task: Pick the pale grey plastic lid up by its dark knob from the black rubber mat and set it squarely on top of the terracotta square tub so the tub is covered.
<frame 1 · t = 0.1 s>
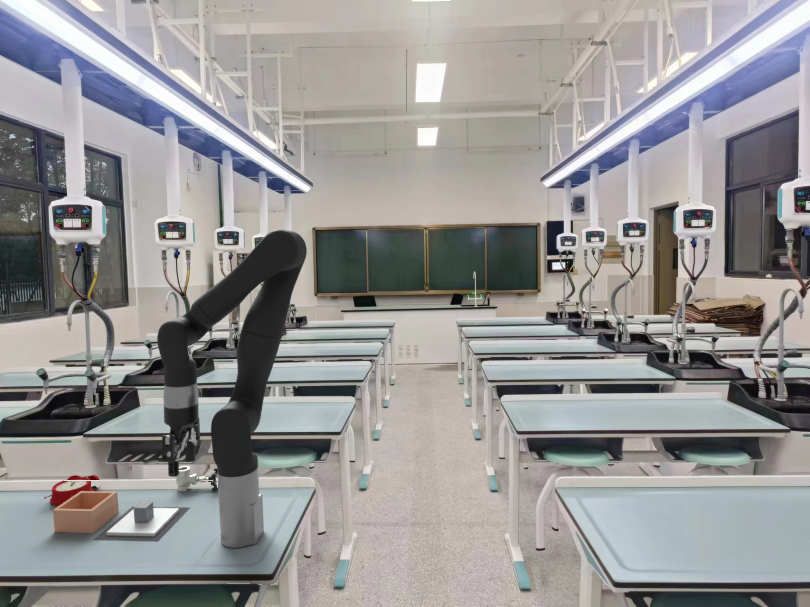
hand: (182, 468, 122), 17 cm above the table, tool pointing down, fingers open, 8 cm apart
mat: (144, 524, 130), on the table
alarm clock: (76, 495, 147), on the table
tub: (87, 523, 131), on the table
valve: (198, 490, 149), on the table
lid: (144, 522, 130), resting on mat
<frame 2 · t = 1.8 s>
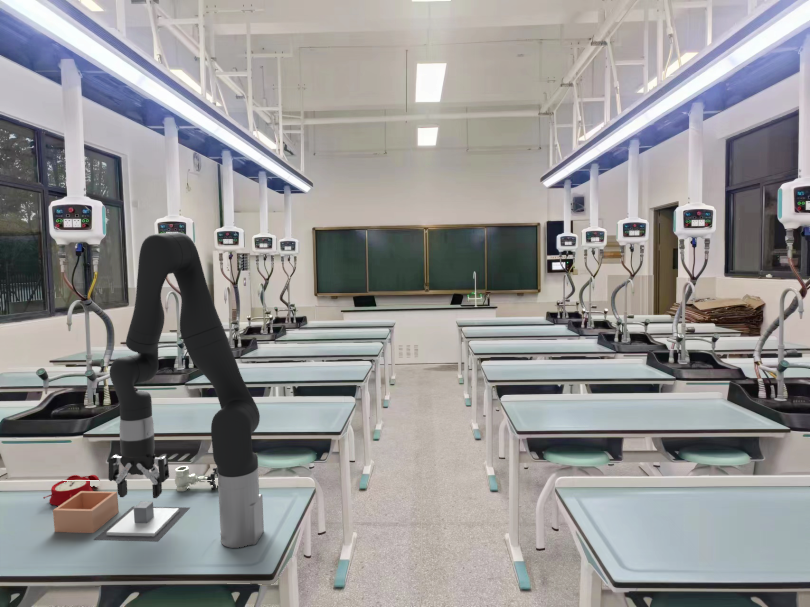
hand: (140, 496, 129), 8 cm above the table, tool pointing down, fingers open, 8 cm apart
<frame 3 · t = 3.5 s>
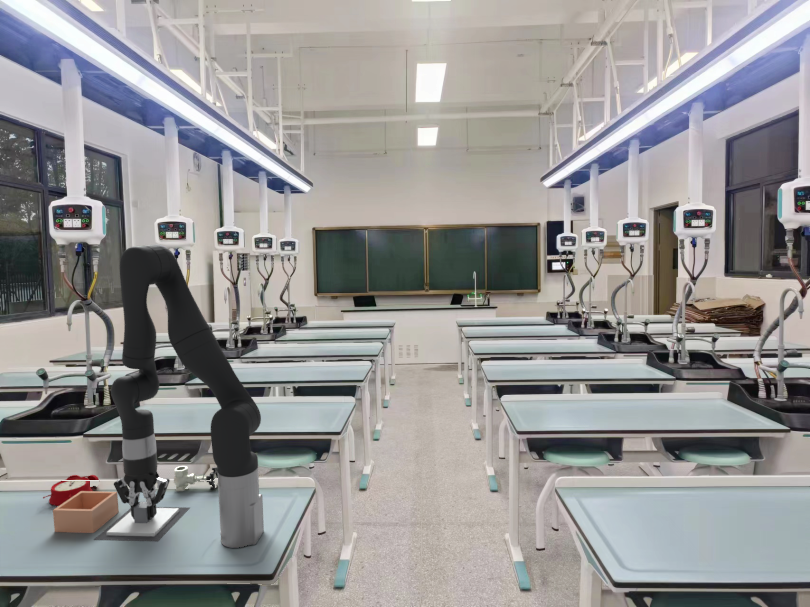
hand: (144, 517, 130), 2 cm above the table, tool pointing down, fingers closed on lid, 3 cm apart
lid: (144, 522, 130), resting on mat, touching gripper
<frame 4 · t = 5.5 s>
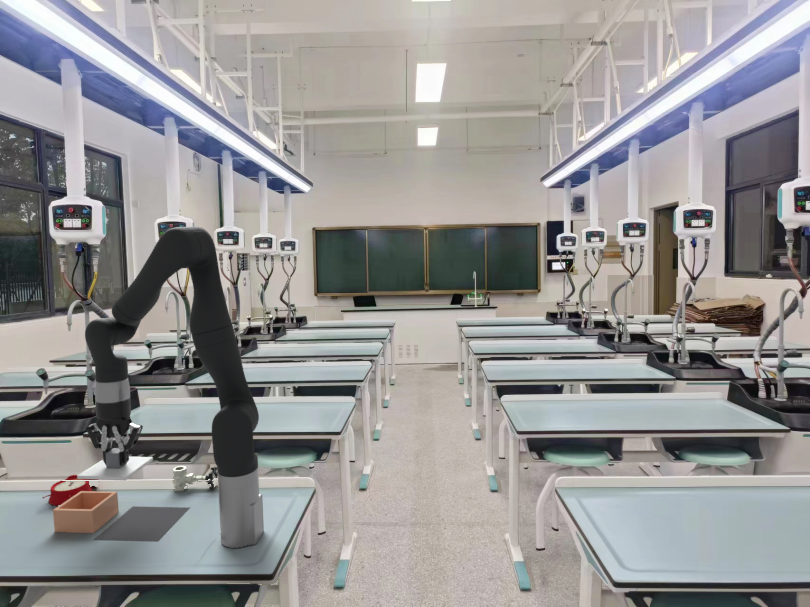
hand: (116, 463, 129), 16 cm above the table, tool pointing down, fingers closed on lid, 3 cm apart
lid: (116, 469, 129), point 15 cm above the table, touching gripper
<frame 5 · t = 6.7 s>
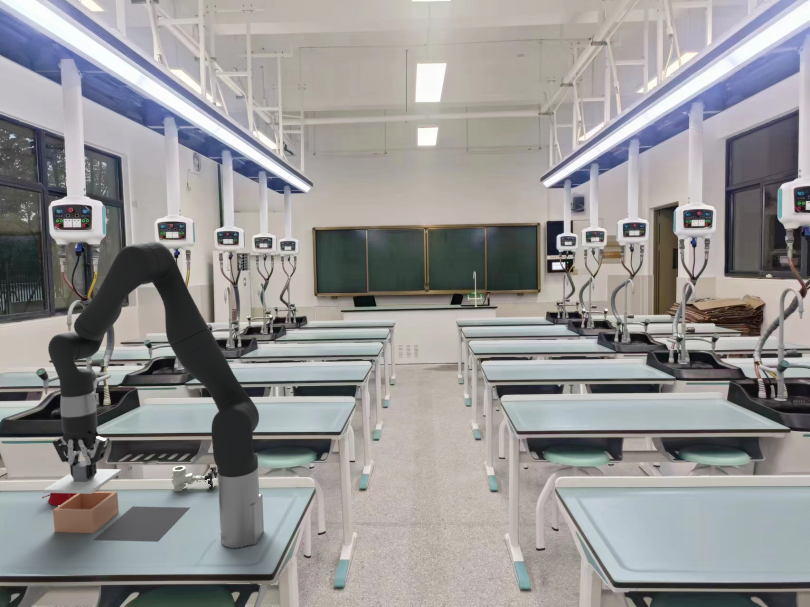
hand: (83, 476, 130), 12 cm above the table, tool pointing down, fingers closed on lid, 3 cm apart
lid: (84, 482, 130), point 11 cm above the table, touching gripper
when the fingers open (8 cm above the table, at t = 7.6 s): lid stays where it is, resting on tub.
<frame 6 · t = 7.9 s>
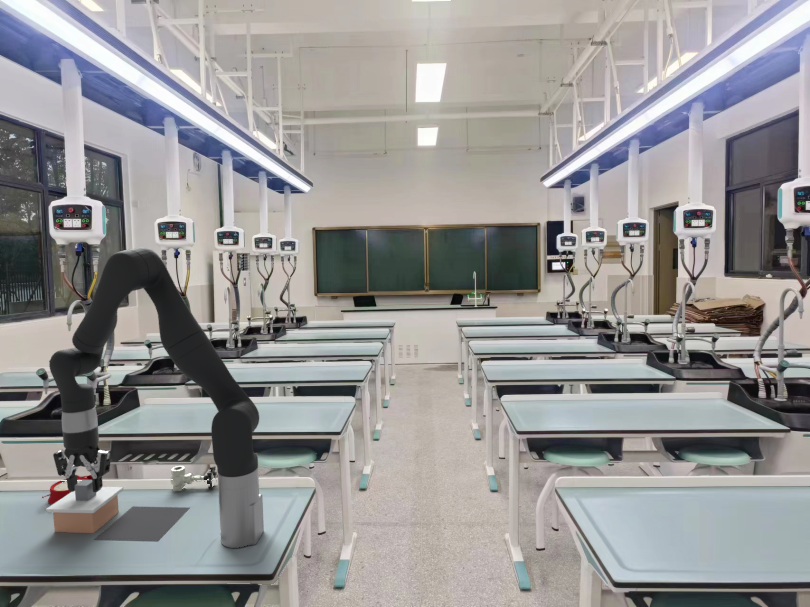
hand: (85, 490, 130), 9 cm above the table, tool pointing down, fingers open, 5 cm apart
lid: (86, 500, 130), point 6 cm above the table, touching tub
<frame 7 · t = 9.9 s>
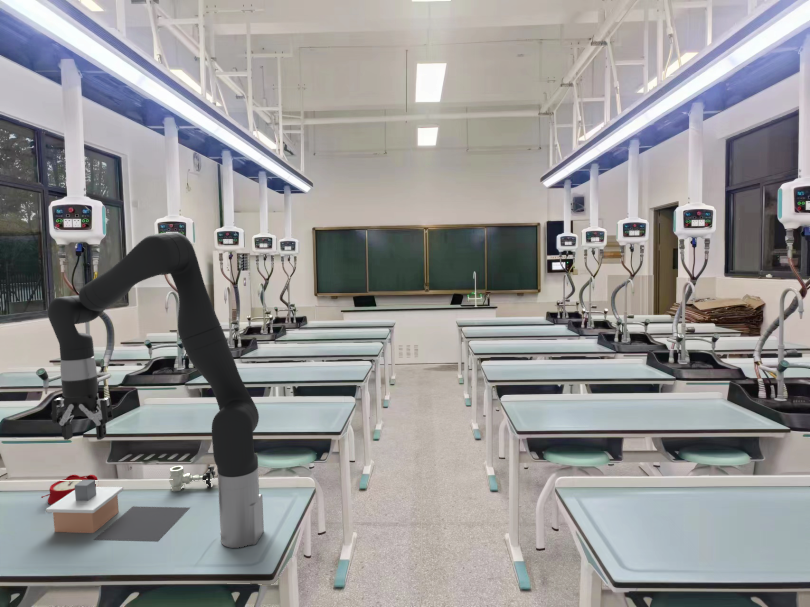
hand: (84, 438, 129), 22 cm above the table, tool pointing down, fingers open, 8 cm apart
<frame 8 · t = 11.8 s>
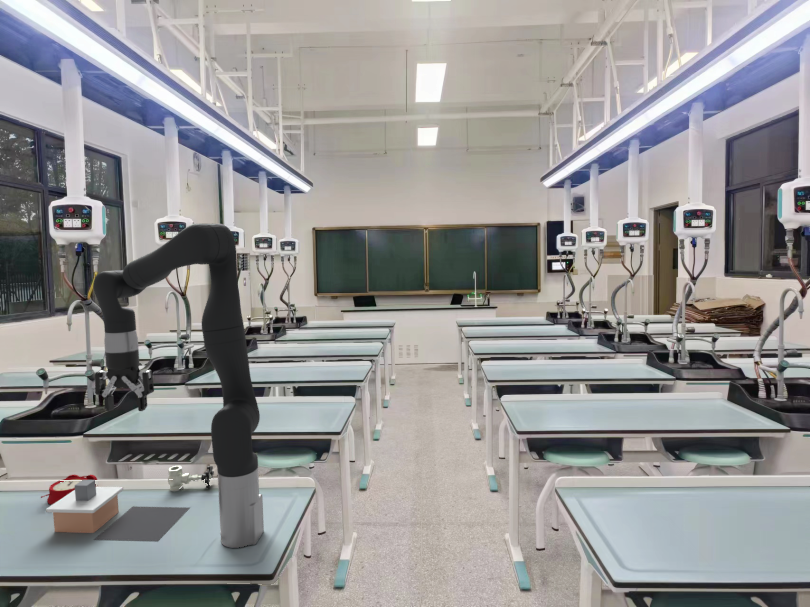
hand: (126, 410, 132), 28 cm above the table, tool pointing down, fingers open, 8 cm apart
at the end: lid 0.1 cm off-centre on the tub, point 6.0 cm above the tub's base; lid tilted 0°; the gripper is holding nothing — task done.
